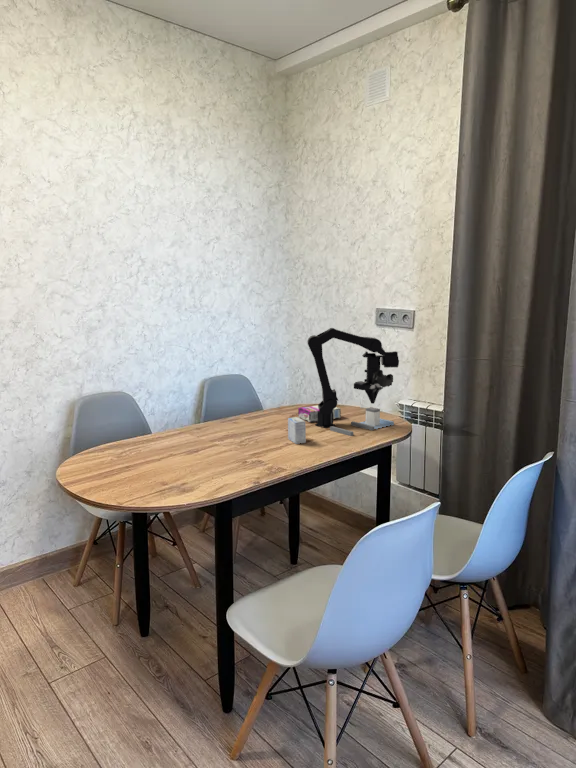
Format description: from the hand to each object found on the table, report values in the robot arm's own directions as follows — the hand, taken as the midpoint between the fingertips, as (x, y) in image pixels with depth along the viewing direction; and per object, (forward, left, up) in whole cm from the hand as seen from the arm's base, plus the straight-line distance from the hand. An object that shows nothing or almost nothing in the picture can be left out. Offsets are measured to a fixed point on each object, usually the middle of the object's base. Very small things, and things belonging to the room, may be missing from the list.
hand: (372, 403), depth 229 cm
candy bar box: (-17, +26, -7) cm, 32 cm away
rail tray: (-6, 0, -10) cm, 11 cm away
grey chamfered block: (0, 0, -9) cm, 9 cm away
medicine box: (-41, +3, -10) cm, 42 cm away
